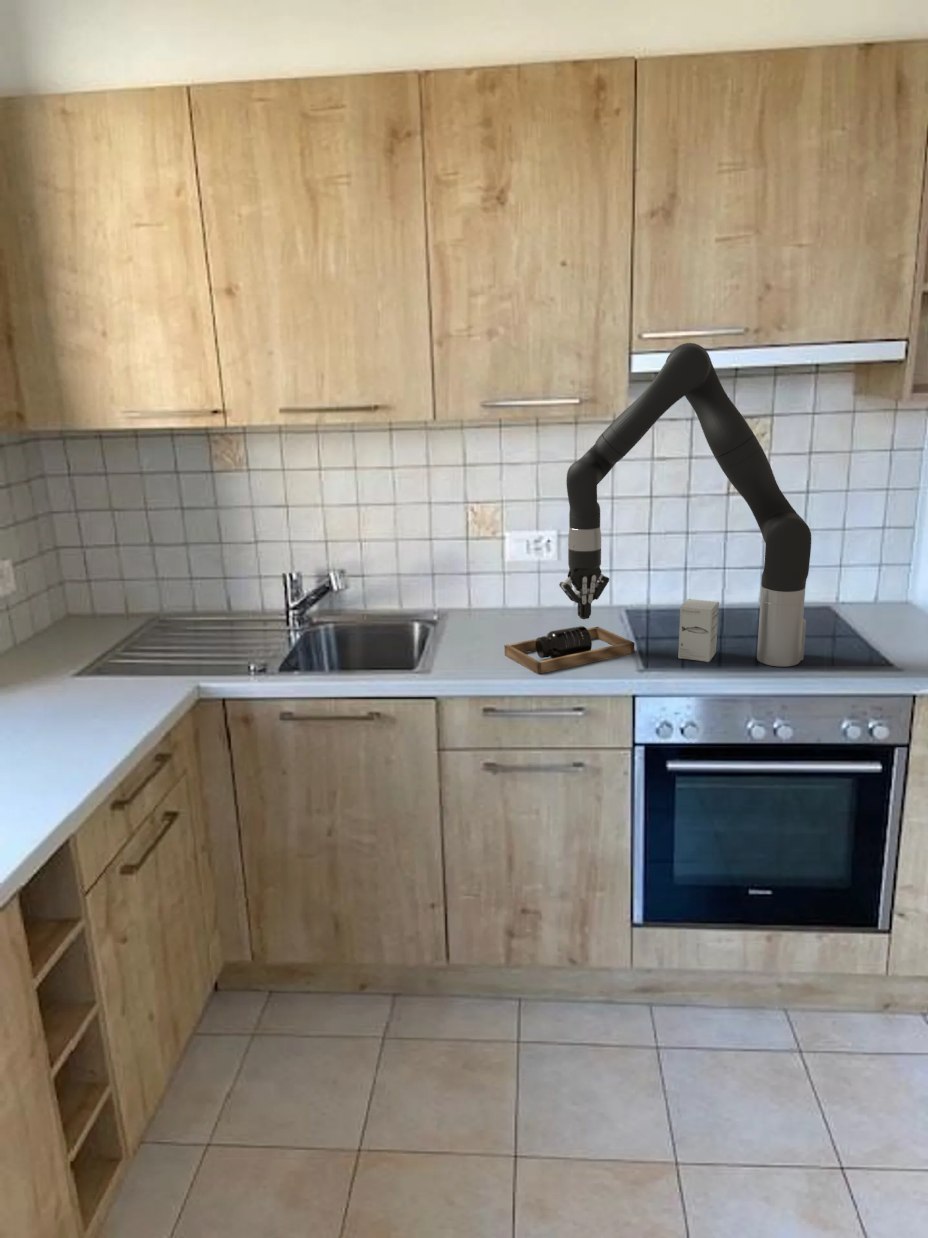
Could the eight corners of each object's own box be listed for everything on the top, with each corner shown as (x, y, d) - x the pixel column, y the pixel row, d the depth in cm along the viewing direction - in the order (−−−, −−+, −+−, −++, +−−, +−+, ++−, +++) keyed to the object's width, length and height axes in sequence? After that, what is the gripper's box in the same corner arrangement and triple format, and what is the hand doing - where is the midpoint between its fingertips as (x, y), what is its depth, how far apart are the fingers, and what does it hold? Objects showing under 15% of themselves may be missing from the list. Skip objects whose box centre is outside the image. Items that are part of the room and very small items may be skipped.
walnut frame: (597, 636, 224) (597, 626, 224) (634, 652, 212) (634, 642, 211) (504, 655, 213) (504, 645, 213) (537, 674, 200) (537, 663, 200)
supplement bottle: (585, 659, 213) (539, 667, 209) (576, 633, 215) (530, 640, 212) (595, 647, 207) (548, 655, 203) (586, 620, 209) (539, 628, 206)
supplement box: (677, 659, 206) (678, 606, 203) (685, 649, 213) (687, 597, 209) (709, 663, 203) (711, 609, 199) (717, 653, 209) (719, 600, 206)
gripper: (569, 552, 201) (569, 626, 206) (618, 545, 206) (616, 617, 212) (551, 546, 207) (552, 618, 212) (599, 539, 213) (598, 610, 218)
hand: (584, 618), depth 212 cm, fingers closed
